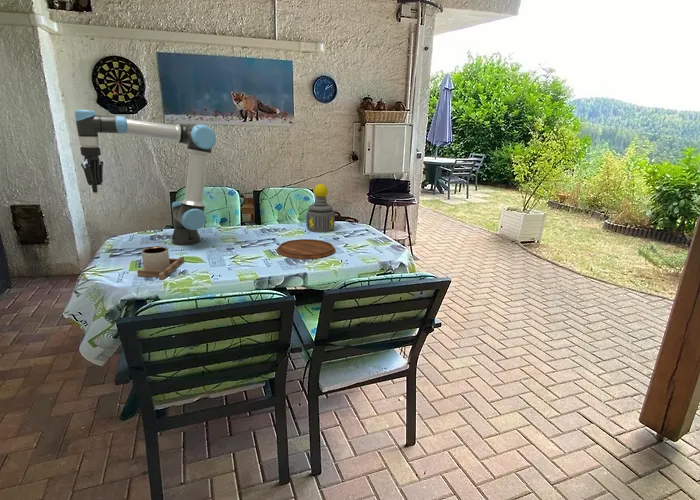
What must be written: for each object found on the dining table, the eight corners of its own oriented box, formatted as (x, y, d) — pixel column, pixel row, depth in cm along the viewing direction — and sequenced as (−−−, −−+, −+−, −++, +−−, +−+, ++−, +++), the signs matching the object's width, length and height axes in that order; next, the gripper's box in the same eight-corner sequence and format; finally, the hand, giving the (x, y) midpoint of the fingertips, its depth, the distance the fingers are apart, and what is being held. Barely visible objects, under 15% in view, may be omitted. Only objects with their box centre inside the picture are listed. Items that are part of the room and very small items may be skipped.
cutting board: (303, 239, 240) (303, 235, 239) (346, 250, 223) (347, 245, 222) (264, 251, 215) (264, 247, 214) (309, 264, 198) (309, 259, 197)
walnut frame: (159, 261, 193) (158, 256, 192) (184, 261, 193) (183, 256, 193) (134, 278, 170) (133, 273, 169) (162, 279, 170) (162, 274, 170)
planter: (152, 276, 174) (149, 255, 171) (139, 270, 180) (136, 250, 177) (175, 269, 183) (173, 249, 180) (161, 264, 189) (159, 245, 186)
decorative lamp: (323, 234, 252) (324, 187, 244) (300, 229, 262) (300, 183, 253) (340, 229, 268) (341, 184, 259) (317, 224, 277) (318, 181, 268)
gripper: (90, 145, 183) (97, 196, 190) (71, 146, 171) (80, 201, 178) (106, 146, 183) (113, 197, 190) (89, 147, 171) (97, 202, 178)
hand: (97, 199), depth 184 cm, fingers closed
